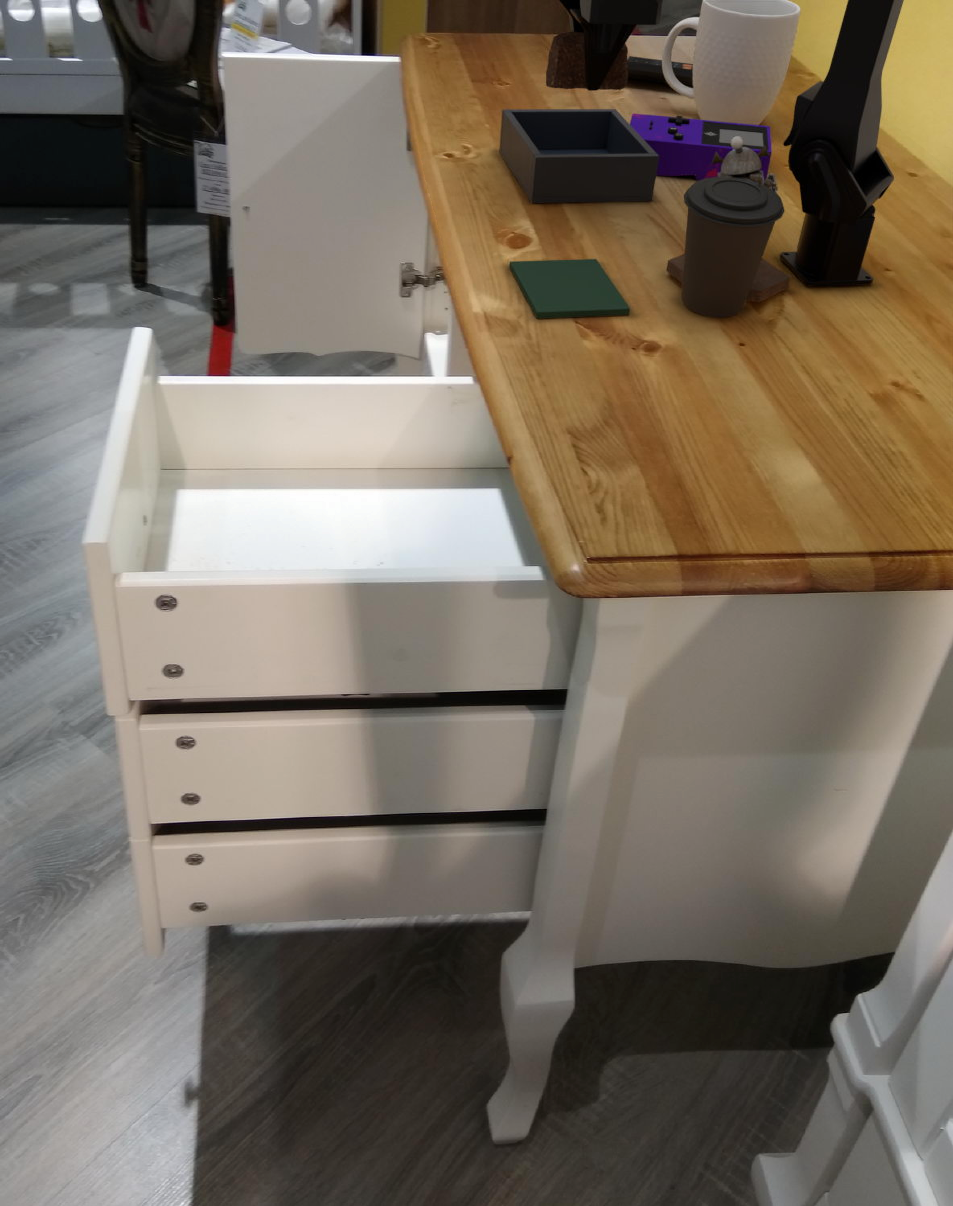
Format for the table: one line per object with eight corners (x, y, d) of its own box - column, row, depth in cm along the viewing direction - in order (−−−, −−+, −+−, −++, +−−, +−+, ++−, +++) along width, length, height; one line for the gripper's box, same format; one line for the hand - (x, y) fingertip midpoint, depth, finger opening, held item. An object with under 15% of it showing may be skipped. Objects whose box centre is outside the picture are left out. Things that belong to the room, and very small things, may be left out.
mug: (638, 119, 138) (656, -2, 129) (670, 97, 145) (688, -19, 137) (760, 145, 133) (787, 21, 125) (786, 121, 141) (812, 2, 132)
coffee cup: (762, 286, 102) (790, 175, 95) (757, 333, 96) (786, 218, 89) (670, 271, 103) (691, 160, 96) (659, 317, 97) (680, 202, 90)
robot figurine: (789, 271, 106) (822, 133, 99) (794, 306, 99) (831, 160, 92) (667, 254, 107) (692, 116, 100) (664, 288, 100) (690, 142, 93)
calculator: (698, 71, 155) (702, 47, 153) (690, 96, 146) (694, 71, 144) (628, 63, 156) (631, 38, 154) (616, 86, 147) (620, 61, 145)
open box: (652, 201, 117) (659, 156, 115) (531, 203, 115) (535, 157, 112) (610, 151, 128) (615, 108, 125) (498, 152, 126) (502, 109, 123)
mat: (629, 315, 97) (630, 308, 97) (536, 318, 95) (537, 312, 95) (595, 265, 104) (596, 258, 104) (509, 267, 103) (509, 261, 103)
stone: (622, 88, 111) (629, 31, 108) (630, 98, 109) (637, 40, 105) (543, 88, 110) (548, 30, 107) (549, 97, 108) (554, 39, 104)
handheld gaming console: (633, 108, 128) (770, 121, 127) (627, 157, 132) (761, 170, 130) (626, 133, 121) (772, 148, 119) (620, 184, 124) (762, 198, 123)
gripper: (492, -129, 105) (483, 57, 114) (541, -92, 90) (525, 117, 100) (611, -125, 107) (592, 57, 116) (677, -88, 92) (649, 116, 102)
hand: (587, 84), depth 109 cm, fingers closed on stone, 3 cm apart
